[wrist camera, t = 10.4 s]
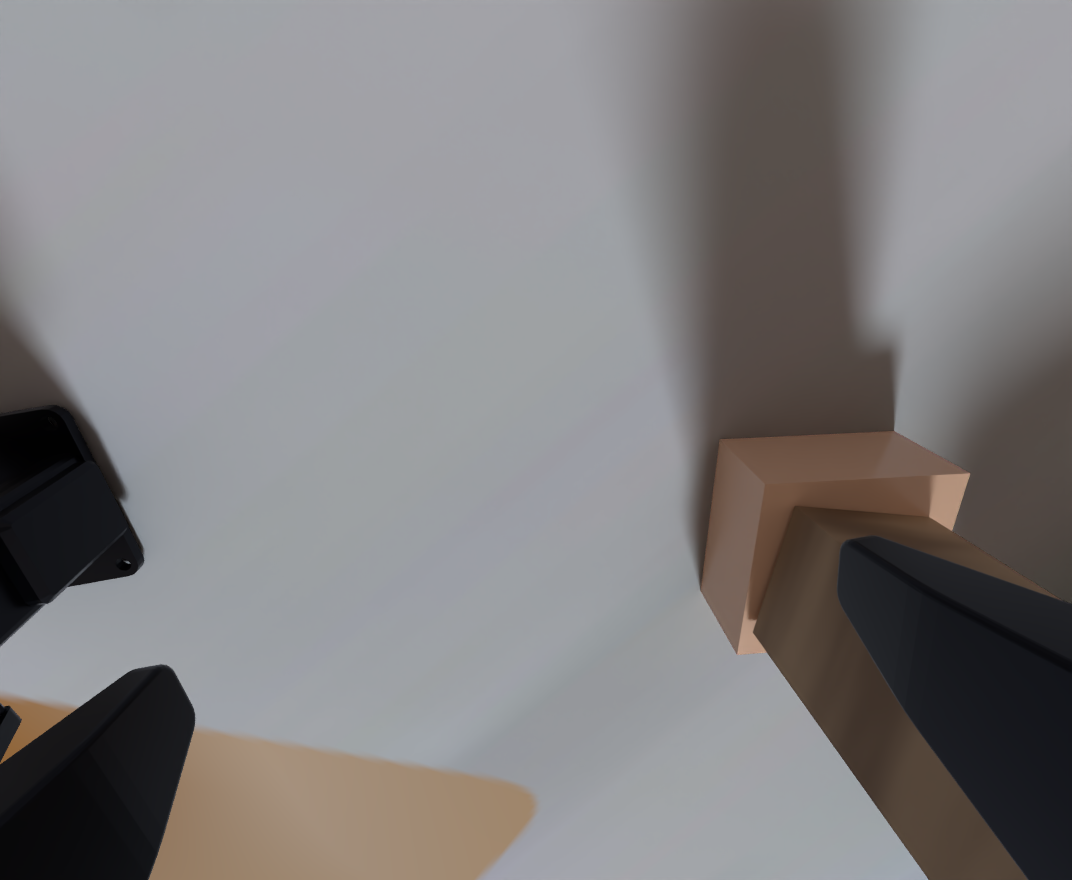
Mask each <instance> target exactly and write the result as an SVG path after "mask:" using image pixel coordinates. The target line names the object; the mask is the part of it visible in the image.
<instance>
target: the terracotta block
mask: <svg viewBox="0 0 1072 880" xmlns="http://www.w3.org/2000/svg"><path fill="white" fill-rule="evenodd" d="M969 476H970V473H969V472H967V471H965V470H964V469H962V468H960V467H958V466H956V465H955V464H953V463H951V462H949V461H947V460H946V459H944V458H942V457H940V456H938V455H937V454H935V453H933V452H931V451H929V450H927V449H926V448H924V447H922V446H920V445H918V444H917V443H915V442H913V441H911V440H909V439H908V438H906V437H904V436H902V435H900V434H899V433H897V432H895V431H884V432H863V433H842V434H821V435H800V436H779V437H758V438H737V439H720V440H719V448H718V456H717V464H716V472H715V480H714V488H713V496H712V504H711V512H710V520H709V528H708V536H707V544H706V552H705V560H704V568H703V576H702V584H701V592H702V594H703V596H704V598H705V599H706V601H707V603H708V605H709V606H710V608H711V610H712V612H713V613H714V615H715V617H716V619H717V620H718V622H719V624H720V626H721V627H722V629H723V631H724V633H725V635H726V636H727V638H728V640H729V642H730V643H731V645H732V647H733V649H734V650H735V652H736V654H737V655H742V654H754V653H767V652H766V650H765V649H764V648H763V646H762V645H761V643H760V642H759V641H758V639H757V638H756V636H755V635H754V634H753V630H754V627H755V624H756V621H757V618H758V615H759V612H760V609H761V606H762V603H763V600H764V597H765V594H766V591H767V588H768V585H769V582H770V579H771V576H772V573H773V570H774V567H775V564H776V561H777V558H778V555H779V552H780V549H781V546H782V543H783V540H784V537H785V534H786V531H787V528H788V525H789V522H790V519H791V516H792V513H793V510H794V507H795V506H803V507H815V508H827V509H839V510H852V511H864V512H876V513H888V514H900V515H912V516H924V517H930V518H932V519H933V520H935V521H936V522H938V523H940V524H941V525H943V526H944V527H946V528H948V529H949V530H951V531H952V530H953V526H954V523H955V520H956V517H957V514H958V511H959V508H960V505H961V501H962V498H963V495H964V492H965V489H966V486H967V483H968V479H969Z"/></svg>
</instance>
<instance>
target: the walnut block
mask: <svg viewBox="0 0 1072 880" xmlns="http://www.w3.org/2000/svg"><path fill="white" fill-rule="evenodd" d="M869 535H876V536H880V537H883V538H885V539H888V540H891V541H894V542H897V543H900V544H902V545H905V546H908V547H911V548H914V549H917V550H920V551H922V552H925V553H928V554H931V555H934V556H937V557H939V558H942V559H945V560H948V561H951V562H954V563H957V564H959V565H962V566H965V567H968V568H971V569H974V570H976V571H979V572H982V573H985V574H988V575H991V576H994V577H996V578H999V579H1002V580H1005V581H1008V582H1011V583H1014V584H1016V585H1019V586H1022V587H1025V588H1028V589H1031V590H1033V591H1036V592H1039V593H1042V594H1045V595H1048V596H1051V597H1053V598H1056V599H1059V598H1058V597H1056V596H1054V595H1053V594H1051V593H1050V592H1048V591H1046V590H1045V589H1043V588H1042V587H1040V586H1038V585H1037V584H1035V583H1034V582H1032V581H1030V580H1029V579H1027V578H1026V577H1024V576H1023V575H1021V574H1019V573H1018V572H1016V571H1015V570H1013V569H1011V568H1010V567H1008V566H1007V565H1005V564H1003V563H1002V562H1000V561H999V560H997V559H995V558H994V557H992V556H991V555H989V554H987V553H986V552H984V551H983V550H981V549H980V548H978V547H976V546H975V545H973V544H972V543H970V542H968V541H967V540H965V539H964V538H962V537H960V536H959V535H957V534H956V533H954V532H952V531H951V530H949V529H948V528H946V527H944V526H943V525H941V524H940V523H938V522H936V521H935V520H933V519H932V518H930V517H924V516H912V515H900V514H888V513H876V512H864V511H852V510H839V509H827V508H815V507H803V506H795V507H794V510H793V513H792V516H791V519H790V522H789V525H788V528H787V531H786V534H785V537H784V540H783V543H782V546H781V549H780V552H779V555H778V558H777V561H776V564H775V567H774V570H773V573H772V576H771V579H770V582H769V585H768V588H767V591H766V594H765V597H764V600H763V603H762V606H761V609H760V612H759V615H758V618H757V621H756V624H755V627H754V630H753V634H754V635H755V636H756V638H757V639H758V641H759V642H760V643H761V645H762V646H763V648H764V649H765V650H766V652H767V653H768V655H769V656H770V658H771V659H772V660H773V662H774V663H775V665H776V666H777V667H778V669H779V670H780V672H781V673H782V674H783V676H784V677H785V679H786V680H787V681H788V683H789V684H790V686H791V687H792V688H793V690H794V691H795V693H796V694H797V695H798V697H799V698H800V700H801V701H802V702H803V704H804V705H805V707H806V708H807V709H808V711H809V712H810V714H811V715H812V716H813V718H814V719H815V721H816V722H817V723H818V725H819V726H820V728H821V729H822V730H823V732H824V733H825V735H826V736H827V737H828V739H829V740H830V742H831V743H832V745H833V746H834V747H835V749H836V750H837V752H838V753H839V754H840V756H841V757H842V759H843V760H844V761H845V763H846V764H847V766H848V767H849V768H850V770H851V771H852V773H853V774H854V775H855V777H856V778H857V780H858V781H859V782H860V784H861V785H862V787H863V788H864V789H865V791H866V792H867V794H868V795H869V796H870V798H871V799H872V801H873V802H874V803H875V805H876V806H877V808H878V809H879V810H880V812H881V813H882V815H883V816H884V817H885V819H886V820H887V822H888V823H889V824H890V826H891V827H892V829H893V830H894V832H895V833H896V834H897V836H898V837H899V839H900V840H901V841H902V843H903V844H904V846H905V847H906V848H907V850H908V851H909V853H910V854H911V855H912V857H913V858H914V860H915V861H916V862H917V864H918V865H919V867H920V868H921V869H922V871H923V872H924V874H925V875H926V876H927V878H928V879H929V880H1028V879H1027V878H1026V877H1025V875H1024V874H1023V872H1022V871H1021V870H1020V868H1019V867H1018V866H1017V864H1016V863H1015V862H1014V860H1013V859H1012V858H1011V856H1010V855H1009V853H1008V852H1007V851H1006V849H1005V848H1004V847H1003V845H1002V844H1001V843H1000V841H999V840H998V839H997V837H996V836H995V834H994V833H993V832H992V830H991V829H990V828H989V826H988V825H987V824H986V822H985V821H984V820H983V818H982V817H981V815H980V814H979V813H978V811H977V810H976V809H975V807H974V806H973V805H972V803H971V802H970V800H969V799H968V798H967V796H966V795H965V794H964V792H963V791H962V790H961V788H960V787H959V786H958V784H957V783H956V781H955V780H954V779H953V777H952V776H951V775H950V773H949V772H948V771H947V769H946V768H945V767H944V765H943V764H942V762H941V761H940V760H939V758H938V757H937V756H936V754H935V753H934V752H933V750H932V749H931V748H930V746H929V745H928V743H927V742H926V741H925V739H924V738H923V737H922V735H921V734H920V733H919V731H918V730H917V728H916V727H915V726H914V724H913V723H912V721H911V720H910V719H909V717H908V716H907V714H906V713H905V711H904V710H903V708H902V707H901V705H900V704H899V702H898V701H897V699H896V697H895V696H894V694H893V693H892V691H891V689H890V688H889V686H888V684H887V683H886V681H885V679H884V678H883V676H882V674H881V673H880V671H879V669H878V668H877V666H876V664H875V663H874V661H873V659H872V657H871V656H870V654H869V652H868V651H867V649H866V647H865V646H864V644H863V642H862V641H861V639H860V637H859V636H858V634H857V632H856V631H855V629H854V627H853V626H852V624H851V622H850V621H849V619H848V617H847V616H846V614H845V612H844V611H843V609H842V607H841V605H840V602H839V599H838V596H837V578H838V565H839V553H840V547H841V545H842V543H843V542H844V541H846V540H848V539H852V538H858V537H863V536H869ZM1059 600H1061V599H1059Z"/></svg>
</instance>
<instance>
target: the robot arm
mask: <svg viewBox="0 0 1072 880" xmlns="http://www.w3.org/2000/svg"><path fill="white" fill-rule="evenodd" d="M48 417H51V418H53V419H54V420H55V421H56V422H57V425H58V427H57V426H54V425H52V424H51V423H50V421H49V418H48ZM122 559H126V560H128V561H129V562H130V563H131V564H128V563H125V562H124V561H123V560H122ZM143 563H144V557H143V554H142V552H141V550H140V548H139V546H138V544H137V543H136V541H135V539H134V537H133V535H132V533H131V531H130V529H129V527H128V524H127V522H126V520H125V518H124V516H123V514H122V512H121V510H120V508H119V506H118V504H117V502H116V500H115V498H114V496H113V494H112V492H111V490H110V488H109V486H108V484H107V482H106V480H105V478H104V476H103V475H102V473H101V471H100V469H99V467H98V466H97V464H96V462H95V460H94V458H93V456H92V454H91V452H90V450H89V448H88V446H87V444H86V442H85V440H84V438H83V436H82V434H81V433H80V431H79V429H78V427H77V425H76V423H75V421H74V419H73V417H72V415H71V414H70V413H69V412H68V411H67V410H66V409H64V408H63V407H60V406H57V405H48V406H42V407H36V408H30V409H24V410H19V411H13V412H7V413H1V414H0V646H1V645H3V644H4V643H5V642H6V641H7V640H8V639H9V638H10V637H11V636H12V635H13V634H14V633H15V632H16V631H17V630H19V629H20V628H21V627H22V626H23V625H24V624H25V623H26V622H27V621H28V620H29V619H30V618H31V617H32V616H33V615H35V614H36V613H37V612H38V611H39V610H40V609H41V608H42V607H43V606H44V605H45V604H48V603H50V602H52V601H53V600H54V599H55V598H56V597H57V596H58V595H59V594H60V593H62V592H63V591H64V590H65V589H66V588H67V587H70V586H75V585H81V584H87V583H92V582H98V581H103V580H109V579H115V578H120V577H126V576H130V575H133V574H135V573H136V572H137V571H138V570H139V568H140V567H141V566H142V565H143ZM837 596H838V599H839V602H840V605H841V607H842V609H843V611H844V612H845V614H846V616H847V617H848V619H849V621H850V622H851V624H852V626H853V627H854V629H855V631H856V632H857V634H858V636H859V637H860V639H861V641H862V642H863V644H864V646H865V647H866V649H867V651H868V652H869V654H870V656H871V657H872V659H873V661H874V663H875V664H876V666H877V668H878V669H879V671H880V673H881V674H882V676H883V678H884V679H885V681H886V683H887V684H888V686H889V688H890V689H891V691H892V693H893V694H894V696H895V697H896V699H897V701H898V702H899V704H900V705H901V707H902V708H903V710H904V711H905V713H906V714H907V716H908V717H909V719H910V720H911V721H912V723H913V724H914V726H915V727H916V728H917V730H918V731H919V733H920V734H921V735H922V737H923V738H924V739H925V741H926V742H927V743H928V745H929V746H930V748H931V749H932V750H933V752H934V753H935V754H936V756H937V757H938V758H939V760H940V761H941V762H942V764H943V765H944V767H945V768H946V769H947V771H948V772H949V773H950V775H951V776H952V777H953V779H954V780H955V781H956V783H957V784H958V786H959V787H960V788H961V790H962V791H963V792H964V794H965V795H966V796H967V798H968V799H969V800H970V802H971V803H972V805H973V806H974V807H975V809H976V810H977V811H978V813H979V814H980V815H981V817H982V818H983V820H984V821H985V822H986V824H987V825H988V826H989V828H990V829H991V830H992V832H993V833H994V834H995V836H996V837H997V839H998V840H999V841H1000V843H1001V844H1002V845H1003V847H1004V848H1005V849H1006V851H1007V852H1008V853H1009V855H1010V856H1011V858H1012V859H1013V860H1014V862H1015V863H1016V864H1017V866H1018V867H1019V868H1020V870H1021V871H1022V872H1023V874H1024V875H1025V877H1026V878H1027V879H1028V880H1072V604H1071V603H1068V602H1065V601H1062V600H1059V599H1056V598H1053V597H1051V596H1048V595H1045V594H1042V593H1039V592H1036V591H1033V590H1031V589H1028V588H1025V587H1022V586H1019V585H1016V584H1014V583H1011V582H1008V581H1005V580H1002V579H999V578H996V577H994V576H991V575H988V574H985V573H982V572H979V571H976V570H974V569H971V568H968V567H965V566H962V565H959V564H957V563H954V562H951V561H948V560H945V559H942V558H939V557H937V556H934V555H931V554H928V553H925V552H922V551H920V550H917V549H914V548H911V547H908V546H905V545H902V544H900V543H897V542H894V541H891V540H888V539H885V538H883V537H880V536H876V535H869V536H863V537H858V538H852V539H848V540H846V541H844V542H843V543H842V545H841V547H840V553H839V565H838V578H837ZM21 720H22V719H20V717H19V716H18V715H17V714H16V713H15V712H14V711H13V709H12V708H11V707H10V706H5V707H4V706H3V705H2V704H1V703H0V762H1V760H2V758H3V756H4V754H5V752H6V750H7V748H8V746H9V744H10V742H11V740H12V738H13V736H14V734H15V733H16V731H17V729H18V727H19V725H20V723H21ZM194 727H195V713H194V708H193V706H192V704H191V702H190V700H189V698H188V696H187V695H186V693H185V691H184V689H183V687H182V685H181V683H180V681H179V680H178V678H177V676H176V674H175V672H174V671H173V669H172V668H170V667H169V666H167V665H161V664H160V665H155V666H149V667H144V668H138V669H134V670H132V671H130V672H128V673H126V674H125V675H124V676H122V677H121V678H119V679H118V680H117V681H115V682H114V683H112V684H111V685H110V686H108V687H107V688H106V689H104V690H103V691H101V692H100V693H99V694H97V695H96V696H94V697H93V698H92V699H90V700H89V701H88V702H86V703H85V704H83V705H82V706H81V707H79V708H78V709H76V710H75V711H74V712H72V713H71V714H70V715H68V716H67V717H65V718H64V719H63V720H61V721H60V722H58V723H57V724H56V725H54V726H53V727H52V728H50V729H49V730H47V731H46V732H45V733H43V734H42V735H41V736H39V737H38V738H36V739H35V740H33V741H32V742H31V743H29V744H28V745H26V746H25V747H24V748H22V749H21V750H20V751H18V752H17V753H15V754H14V755H13V756H12V757H10V758H9V759H7V760H6V761H4V762H3V763H2V764H0V880H148V879H149V877H150V874H151V871H152V869H153V866H154V863H155V860H156V858H157V855H158V852H159V848H160V845H161V842H162V839H163V836H164V833H165V829H166V825H167V822H168V819H169V815H170V812H171V808H172V805H173V801H174V798H175V794H176V791H177V787H178V784H179V780H180V777H181V773H182V770H183V766H184V762H185V759H186V756H187V752H188V748H189V745H190V742H191V738H192V735H193V731H194Z"/></svg>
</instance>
